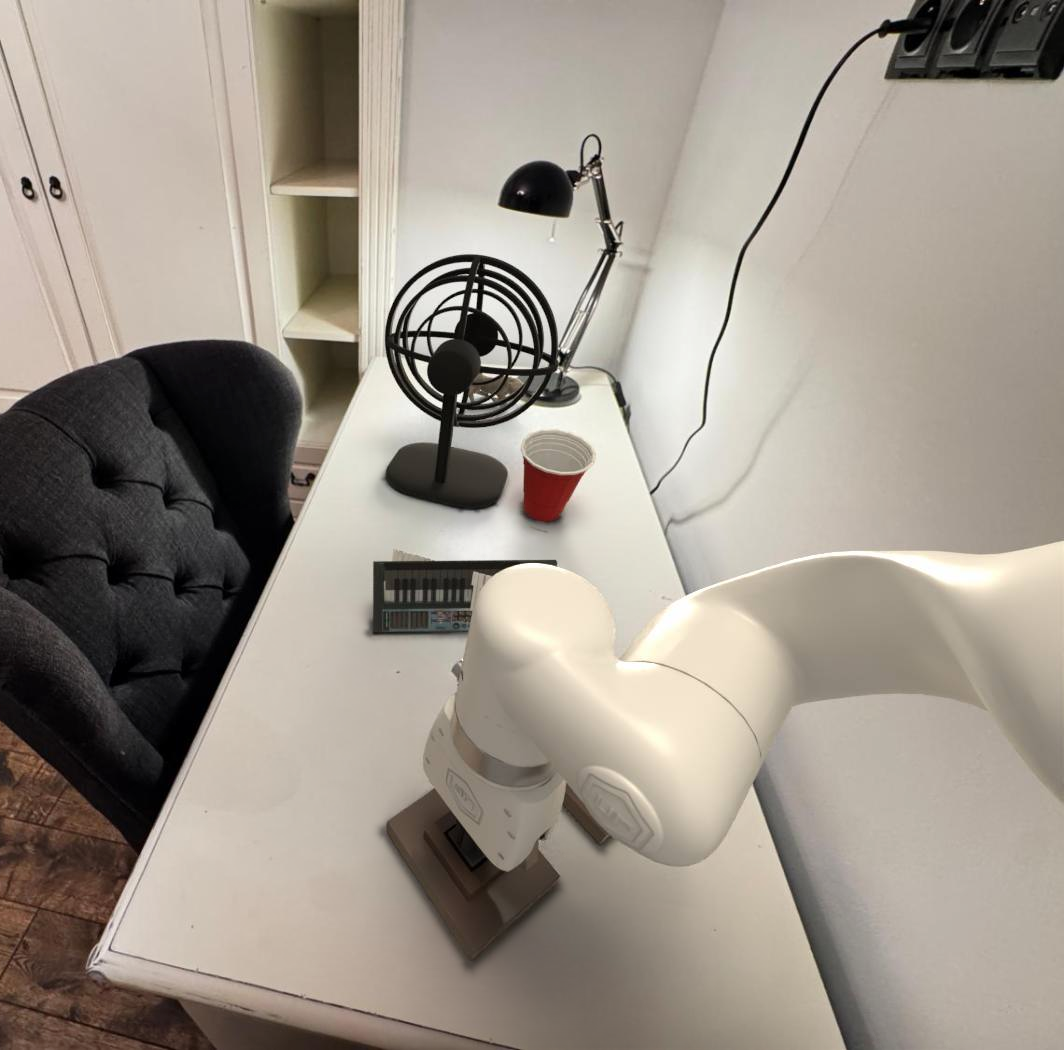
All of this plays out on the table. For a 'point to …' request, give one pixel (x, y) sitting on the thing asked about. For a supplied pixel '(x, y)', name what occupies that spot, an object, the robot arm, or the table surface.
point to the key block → (464, 876)
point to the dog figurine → (494, 387)
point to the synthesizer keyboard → (430, 591)
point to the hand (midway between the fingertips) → (472, 836)
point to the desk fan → (464, 380)
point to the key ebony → (468, 854)
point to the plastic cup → (552, 470)
